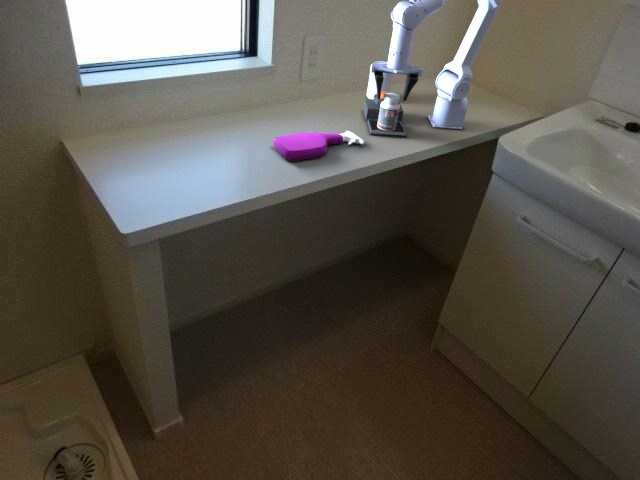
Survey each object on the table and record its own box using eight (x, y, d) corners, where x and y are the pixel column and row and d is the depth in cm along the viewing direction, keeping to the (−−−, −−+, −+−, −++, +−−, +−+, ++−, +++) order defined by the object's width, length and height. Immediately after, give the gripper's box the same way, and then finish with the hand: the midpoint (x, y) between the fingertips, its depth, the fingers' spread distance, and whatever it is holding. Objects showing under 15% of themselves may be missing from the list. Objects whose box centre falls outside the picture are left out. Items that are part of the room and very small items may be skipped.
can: (380, 104, 162) (386, 68, 154) (362, 98, 165) (367, 62, 158) (391, 99, 167) (398, 64, 159) (373, 93, 170) (379, 58, 163)
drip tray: (400, 125, 150) (401, 121, 149) (405, 137, 143) (406, 133, 142) (367, 122, 149) (367, 118, 148) (370, 135, 142) (371, 130, 141)
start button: (388, 96, 153) (389, 91, 152) (389, 100, 150) (390, 94, 149) (378, 95, 152) (379, 90, 151) (379, 99, 150) (380, 94, 149)
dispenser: (396, 112, 158) (399, 94, 154) (400, 124, 150) (404, 105, 147) (362, 110, 157) (365, 91, 153) (365, 121, 149) (368, 102, 146)
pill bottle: (396, 132, 143) (403, 100, 137) (377, 131, 143) (383, 98, 137) (394, 124, 148) (400, 93, 142) (376, 123, 147) (381, 91, 141)
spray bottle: (270, 146, 130) (345, 133, 142) (289, 164, 123) (366, 149, 135) (270, 135, 128) (346, 124, 140) (290, 153, 121) (368, 139, 133)
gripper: (375, 52, 128) (368, 102, 136) (429, 57, 129) (418, 105, 138) (372, 45, 134) (365, 93, 142) (423, 49, 135) (413, 96, 143)
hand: (391, 98), depth 140 cm, fingers open, 7 cm apart
